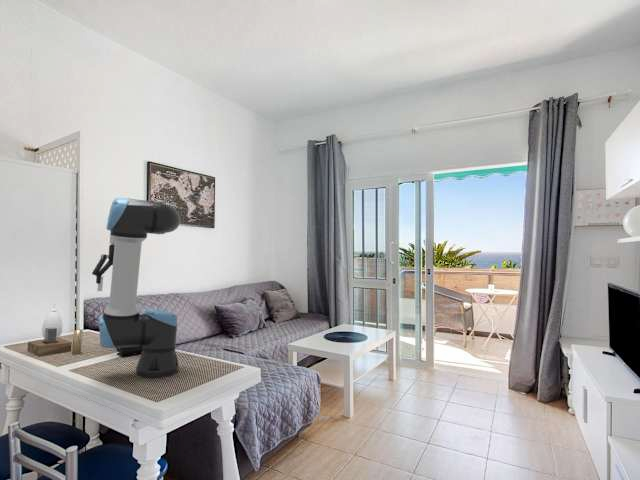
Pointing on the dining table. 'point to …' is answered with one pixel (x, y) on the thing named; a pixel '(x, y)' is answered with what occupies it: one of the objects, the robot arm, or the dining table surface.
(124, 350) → the end cap
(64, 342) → the socket board
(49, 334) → the square bit
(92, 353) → the dining table surface
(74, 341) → the round bit
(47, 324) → the white air blower
